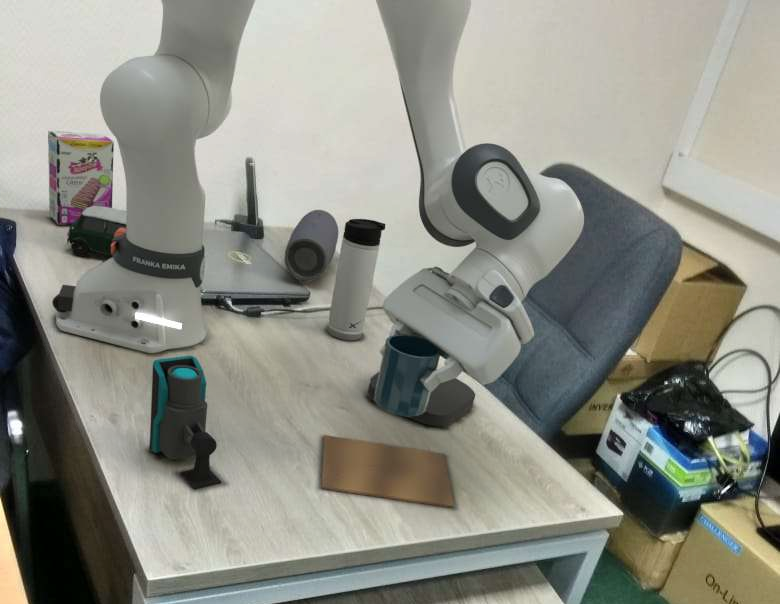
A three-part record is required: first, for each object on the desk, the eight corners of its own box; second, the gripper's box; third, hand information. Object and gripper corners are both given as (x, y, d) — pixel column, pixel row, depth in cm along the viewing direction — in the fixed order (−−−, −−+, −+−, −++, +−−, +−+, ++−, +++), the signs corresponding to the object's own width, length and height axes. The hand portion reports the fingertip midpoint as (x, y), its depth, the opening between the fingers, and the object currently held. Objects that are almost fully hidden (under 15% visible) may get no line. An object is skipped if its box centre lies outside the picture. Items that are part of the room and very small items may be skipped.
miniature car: (161, 274, 149) (163, 230, 144) (62, 253, 147) (61, 208, 142) (174, 259, 156) (176, 217, 151) (79, 239, 154) (79, 196, 150)
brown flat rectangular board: (321, 488, 101) (322, 486, 100) (323, 437, 111) (324, 435, 111) (452, 507, 103) (453, 505, 103) (442, 456, 114) (443, 453, 114)
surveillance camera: (193, 399, 88) (150, 360, 93) (186, 491, 94) (147, 449, 100) (238, 392, 91) (194, 354, 97) (228, 481, 98) (188, 441, 103)
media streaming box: (440, 434, 119) (445, 416, 117) (357, 396, 124) (361, 379, 122) (479, 404, 130) (484, 387, 129) (402, 371, 135) (406, 354, 133)
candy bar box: (58, 226, 158) (56, 137, 149) (49, 218, 161) (46, 129, 151) (113, 226, 165) (114, 140, 156) (103, 217, 167) (103, 133, 158)
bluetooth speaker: (294, 249, 177) (301, 202, 171) (336, 258, 177) (344, 212, 172) (278, 281, 158) (284, 230, 152) (324, 291, 158) (333, 241, 153)
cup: (374, 411, 100) (387, 352, 95) (373, 387, 105) (385, 330, 101) (428, 420, 101) (443, 361, 97) (423, 395, 107) (437, 339, 102)
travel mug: (358, 344, 140) (381, 229, 129) (322, 334, 141) (342, 218, 130) (366, 332, 146) (389, 221, 134) (332, 323, 146) (351, 210, 135)
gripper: (420, 245, 104) (346, 321, 104) (529, 308, 92) (445, 394, 92) (438, 278, 109) (367, 350, 109) (543, 341, 97) (464, 423, 97)
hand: (404, 371), depth 100 cm, fingers closed on cup, 7 cm apart
